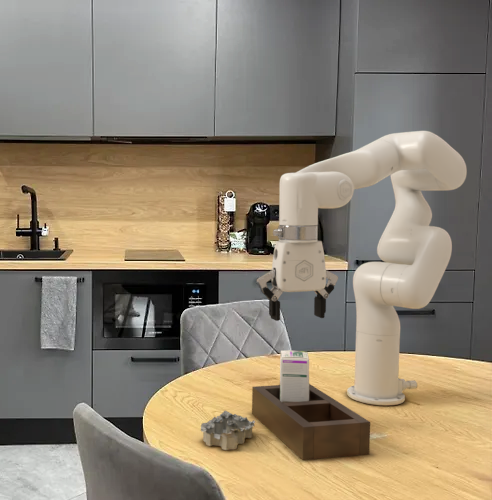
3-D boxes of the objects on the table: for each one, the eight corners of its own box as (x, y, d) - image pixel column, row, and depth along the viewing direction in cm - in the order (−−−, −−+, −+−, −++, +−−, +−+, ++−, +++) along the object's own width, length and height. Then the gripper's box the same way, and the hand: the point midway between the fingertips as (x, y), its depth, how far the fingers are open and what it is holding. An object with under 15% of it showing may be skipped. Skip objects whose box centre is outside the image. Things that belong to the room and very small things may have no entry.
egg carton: (231, 453, 112) (231, 431, 111) (196, 443, 116) (196, 422, 116) (258, 435, 120) (259, 415, 120) (225, 426, 125) (225, 406, 124)
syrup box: (309, 428, 124) (311, 357, 123) (279, 426, 125) (280, 356, 124) (307, 418, 130) (309, 350, 128) (278, 416, 131) (280, 349, 130)
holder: (307, 410, 135) (308, 383, 134) (369, 454, 112) (370, 422, 111) (251, 413, 132) (252, 386, 132) (302, 460, 109) (303, 427, 108)
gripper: (265, 236, 119) (264, 324, 120) (347, 234, 122) (345, 319, 124) (250, 234, 126) (250, 316, 128) (328, 232, 130) (327, 312, 131)
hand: (297, 318), depth 126 cm, fingers open, 9 cm apart
